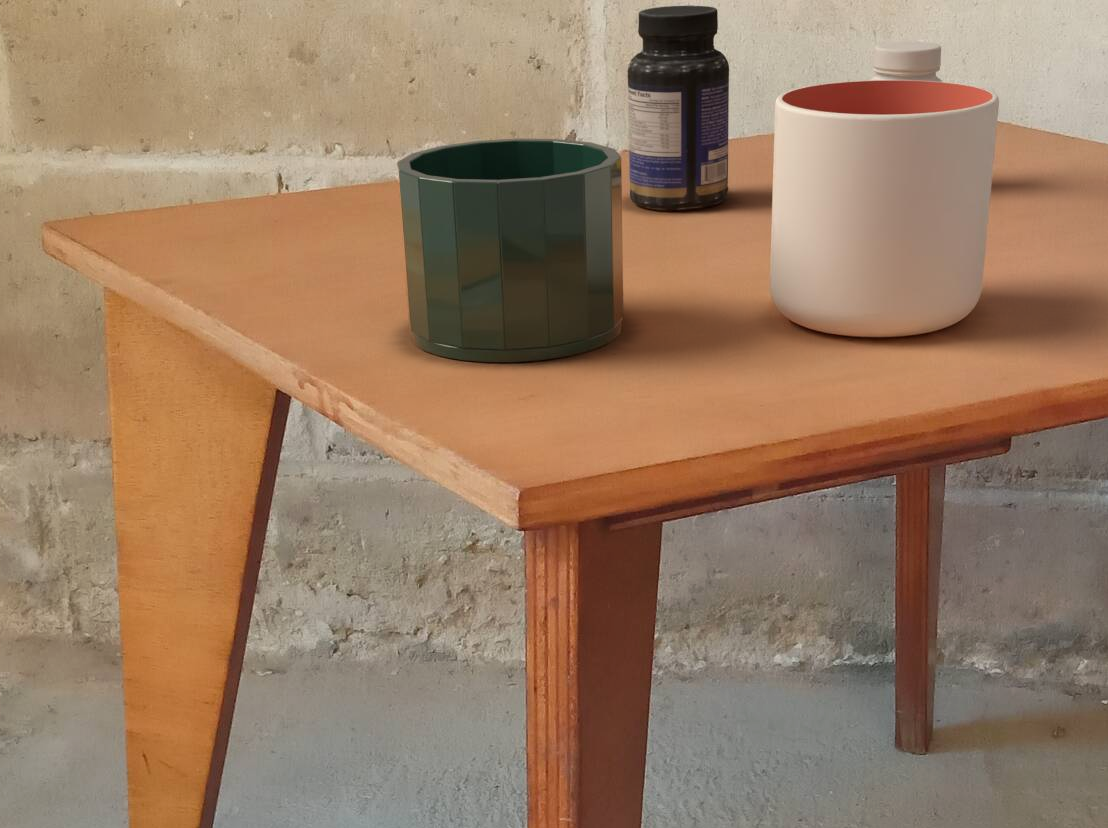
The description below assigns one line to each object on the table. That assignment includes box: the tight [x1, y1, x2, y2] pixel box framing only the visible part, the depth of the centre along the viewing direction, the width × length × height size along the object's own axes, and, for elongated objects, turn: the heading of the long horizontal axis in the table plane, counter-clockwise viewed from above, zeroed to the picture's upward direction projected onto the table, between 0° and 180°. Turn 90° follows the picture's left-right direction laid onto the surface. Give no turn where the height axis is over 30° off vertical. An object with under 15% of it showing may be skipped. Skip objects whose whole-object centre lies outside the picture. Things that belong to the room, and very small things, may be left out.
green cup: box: [396, 138, 624, 363], centre depth 80 cm, size 10×10×8 cm
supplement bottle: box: [869, 41, 943, 82], centre depth 104 cm, size 5×5×8 cm
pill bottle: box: [626, 4, 730, 212], centre depth 103 cm, size 6×6×11 cm
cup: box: [769, 79, 1000, 338], centre depth 80 cm, size 10×10×10 cm
